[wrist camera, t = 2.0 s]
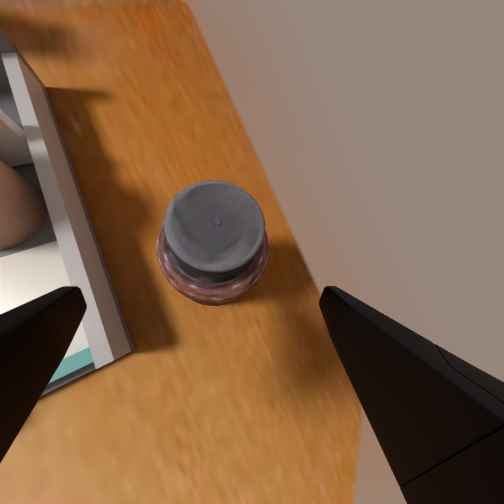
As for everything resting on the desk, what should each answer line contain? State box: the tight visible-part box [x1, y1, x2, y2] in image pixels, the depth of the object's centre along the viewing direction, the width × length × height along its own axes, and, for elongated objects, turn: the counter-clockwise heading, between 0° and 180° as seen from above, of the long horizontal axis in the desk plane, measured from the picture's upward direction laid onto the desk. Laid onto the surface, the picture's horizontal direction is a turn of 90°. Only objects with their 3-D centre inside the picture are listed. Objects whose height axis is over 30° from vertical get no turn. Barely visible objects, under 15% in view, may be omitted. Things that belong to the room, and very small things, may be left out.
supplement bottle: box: [156, 180, 269, 306], centre depth 13 cm, size 6×6×11 cm
